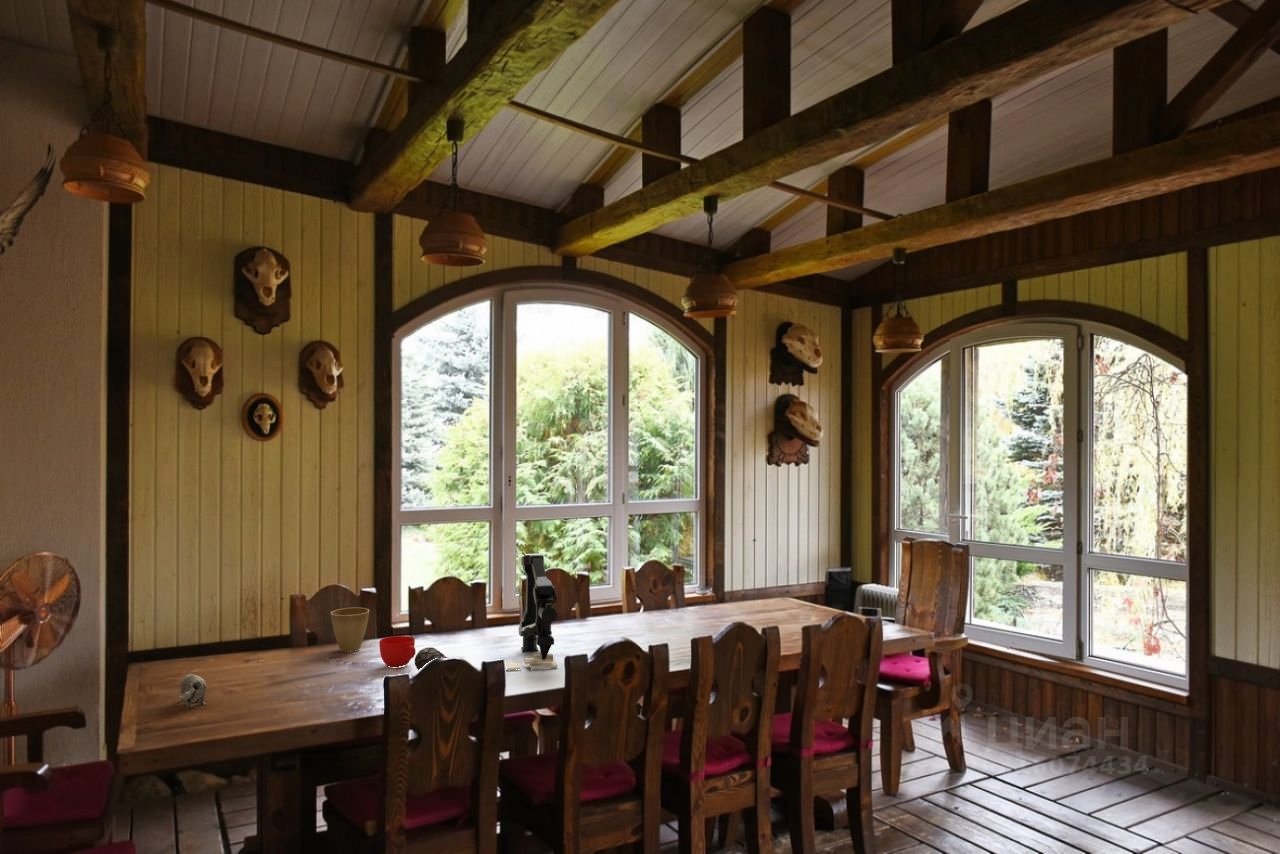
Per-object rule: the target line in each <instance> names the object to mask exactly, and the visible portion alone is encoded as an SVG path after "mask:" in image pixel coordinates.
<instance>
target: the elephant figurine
mask: <svg viewBox="0 0 1280 854" xmlns="http://www.w3.org/2000/svg"><path fill="white" fill-rule="evenodd" d="M179 691H180V693H181V695H178V699H180V703H181V702H184V703H185V704H184V709H187V708H189V707H188V706H189V705H190V704H192V703H193V702H195V701H196V703H199V704H200V705H201V706H206V705H205V704H206V703H205V697H206V692H207V691H208V690H207V683H206V681H205V679H204V678H203V677H201V676H199V675H196V674H193V673H188V674H186V675H185V676H183V677H182V679H181V680H180V681H179Z"/></svg>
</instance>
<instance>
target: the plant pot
mask: <svg viewBox="0 0 1280 854" xmlns="http://www.w3.org/2000/svg"><path fill="white" fill-rule="evenodd" d="M369 615H370V609H369V608H365V607H345V608H339V609H336V610H335V609H334V610H332V611H330V618H331V624H332V628H333V629H332V630H333V633H334V637H335V640H336V643H337V647H338V649H339V651H340V652H341V651H342V652H341V653H346V652H348V653H351V652H350V651H355V650H358V649H359V650H361V646H362V645H363V641H364V638H365V634H366V630H367V627H368V622H369V617H370V616H369ZM359 650H358V651H359Z"/></svg>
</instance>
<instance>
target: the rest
mask: <svg viewBox="0 0 1280 854" xmlns="http://www.w3.org/2000/svg"><path fill="white" fill-rule="evenodd" d="M528 665H530V666H529V668H531V669H538V670H542V669H541V668H557V669H558V663H557V661H556V660H553V662H541V663H536V664H528ZM531 669H530V670H531Z"/></svg>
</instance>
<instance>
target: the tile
mask: <svg viewBox="0 0 1280 854" xmlns="http://www.w3.org/2000/svg"><path fill="white" fill-rule="evenodd" d="M505 663H506V666H507V670H509V671H508V672H511V671H510V670H516V669H517V671H519V670H518V669H520V670H521V666H520V664H519V663H518V662H517V661H512V662H511V661H510V662H505Z"/></svg>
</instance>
